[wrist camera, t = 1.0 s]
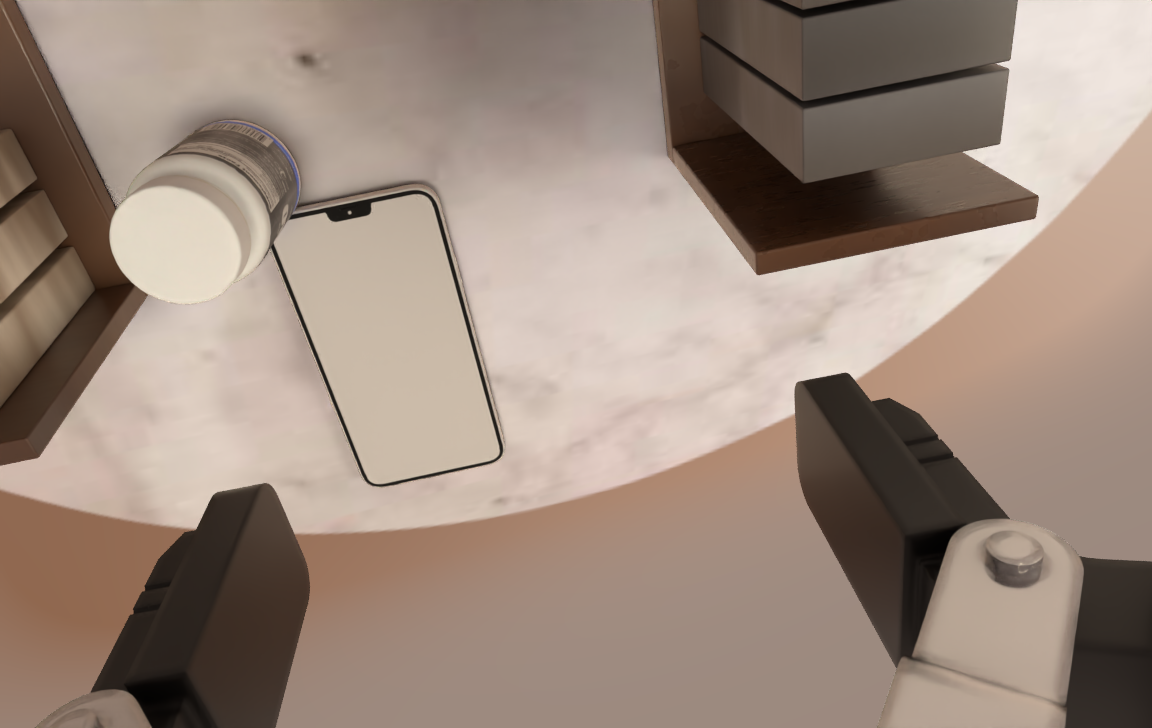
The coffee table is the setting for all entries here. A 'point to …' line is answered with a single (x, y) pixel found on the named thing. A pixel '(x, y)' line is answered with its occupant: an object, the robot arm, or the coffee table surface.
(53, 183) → the wooden book rack
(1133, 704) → the robot arm
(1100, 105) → the coffee table surface
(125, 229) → the pill bottle
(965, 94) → the brown book rack
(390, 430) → the smartphone
